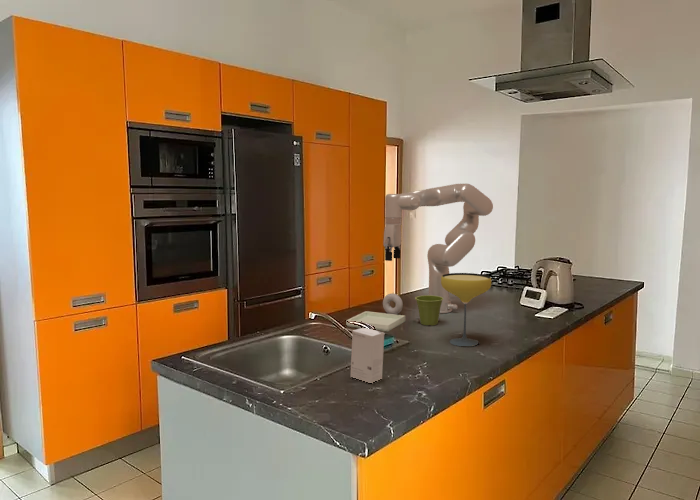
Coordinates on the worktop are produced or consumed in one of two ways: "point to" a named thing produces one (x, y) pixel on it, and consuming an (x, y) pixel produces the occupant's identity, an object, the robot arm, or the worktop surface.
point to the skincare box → (367, 355)
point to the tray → (378, 320)
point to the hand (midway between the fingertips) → (392, 259)
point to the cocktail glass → (465, 295)
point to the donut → (398, 304)
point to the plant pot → (429, 309)
